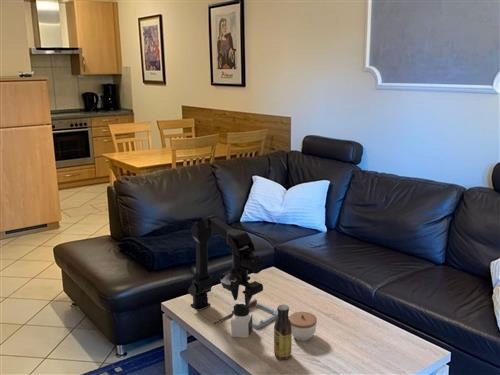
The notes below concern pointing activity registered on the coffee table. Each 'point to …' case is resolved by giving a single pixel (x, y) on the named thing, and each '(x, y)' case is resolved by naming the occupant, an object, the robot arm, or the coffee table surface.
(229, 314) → the rail
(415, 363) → the coffee table surface
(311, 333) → the lidded jar
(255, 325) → the grey angle bracket
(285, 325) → the sauce bottle
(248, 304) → the wooden plank
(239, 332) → the medicine bottle
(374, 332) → the coffee table surface
